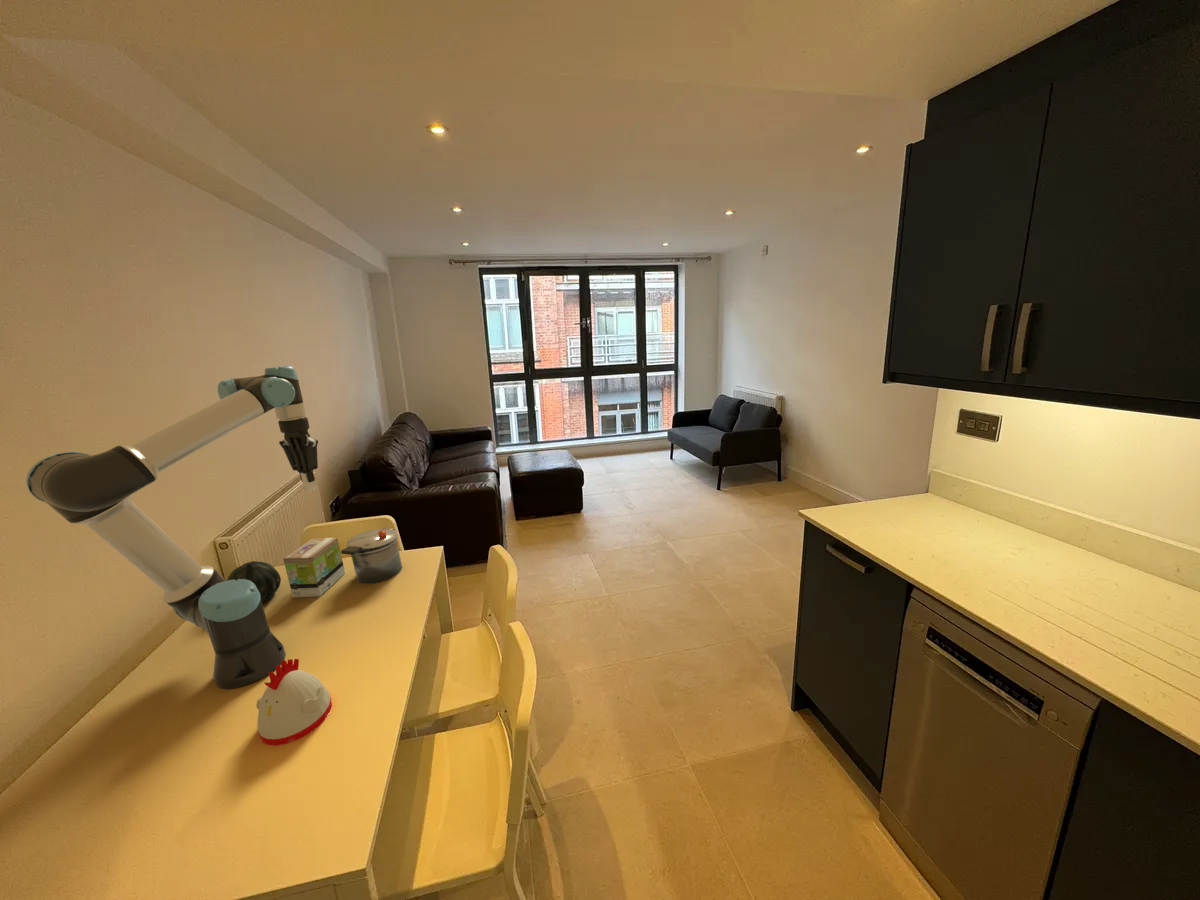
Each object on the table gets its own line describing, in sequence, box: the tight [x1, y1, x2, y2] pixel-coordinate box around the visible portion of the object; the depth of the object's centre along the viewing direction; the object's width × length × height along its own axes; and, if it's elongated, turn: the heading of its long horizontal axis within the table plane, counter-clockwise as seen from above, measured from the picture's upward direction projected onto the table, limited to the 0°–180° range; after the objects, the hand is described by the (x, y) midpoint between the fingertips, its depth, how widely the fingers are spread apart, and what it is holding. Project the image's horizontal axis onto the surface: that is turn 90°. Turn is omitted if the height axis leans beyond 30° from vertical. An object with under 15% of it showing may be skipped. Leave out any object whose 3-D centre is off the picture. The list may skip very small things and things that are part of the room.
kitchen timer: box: [256, 658, 333, 746], centre depth 102 cm, size 14×14×15 cm
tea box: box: [283, 537, 346, 598], centre depth 158 cm, size 15×10×15 cm, turn 179°
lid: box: [340, 527, 398, 556], centre depth 161 cm, size 20×16×4 cm
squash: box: [226, 560, 282, 603], centre depth 152 cm, size 14×15×15 cm
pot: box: [351, 530, 403, 585], centre depth 165 cm, size 17×16×12 cm
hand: (311, 491), depth 145 cm, fingers closed
